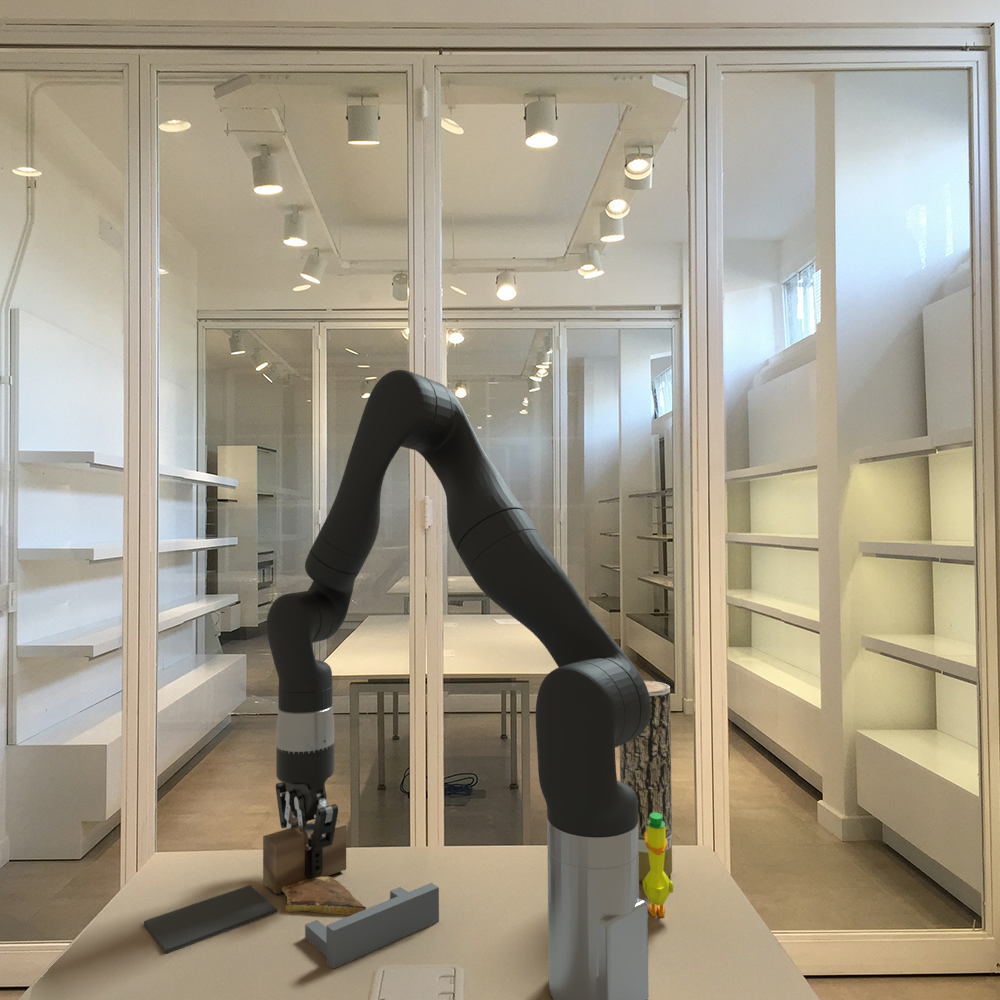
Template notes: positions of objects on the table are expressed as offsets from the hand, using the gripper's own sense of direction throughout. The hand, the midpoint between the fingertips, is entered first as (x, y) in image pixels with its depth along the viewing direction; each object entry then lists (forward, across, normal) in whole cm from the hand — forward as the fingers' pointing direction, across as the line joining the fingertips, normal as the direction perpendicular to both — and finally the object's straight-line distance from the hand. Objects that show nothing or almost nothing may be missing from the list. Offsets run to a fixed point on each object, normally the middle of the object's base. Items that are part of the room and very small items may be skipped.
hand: (305, 869), depth 100 cm
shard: (+2, -6, 0) cm, 7 cm away
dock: (+1, -17, 0) cm, 17 cm away
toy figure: (+1, -36, -28) cm, 46 cm away
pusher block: (+1, 0, 0) cm, 1 cm away
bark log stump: (+1, -29, -35) cm, 46 cm away
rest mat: (+1, -1, +13) cm, 13 cm away
